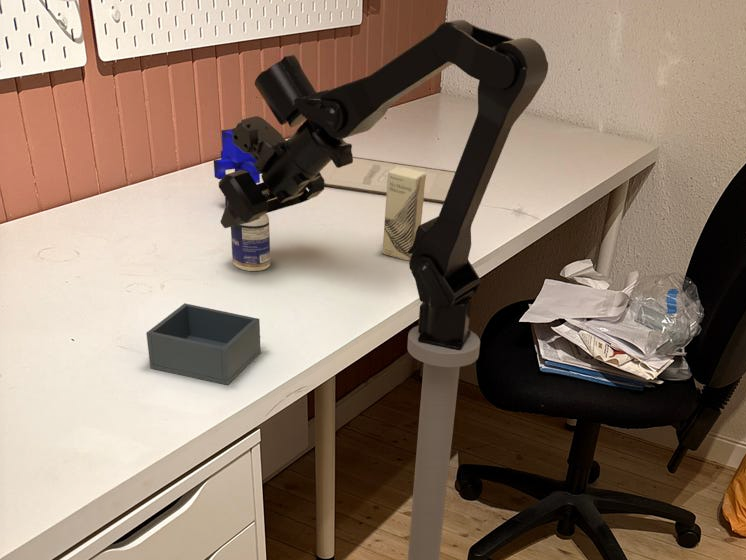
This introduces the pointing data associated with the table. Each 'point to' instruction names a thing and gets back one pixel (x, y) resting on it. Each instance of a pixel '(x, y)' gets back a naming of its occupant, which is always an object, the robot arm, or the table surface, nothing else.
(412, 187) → the box
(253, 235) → the pill bottle
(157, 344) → the bin
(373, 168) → the picture frame
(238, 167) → the figurine
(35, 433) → the table surface
